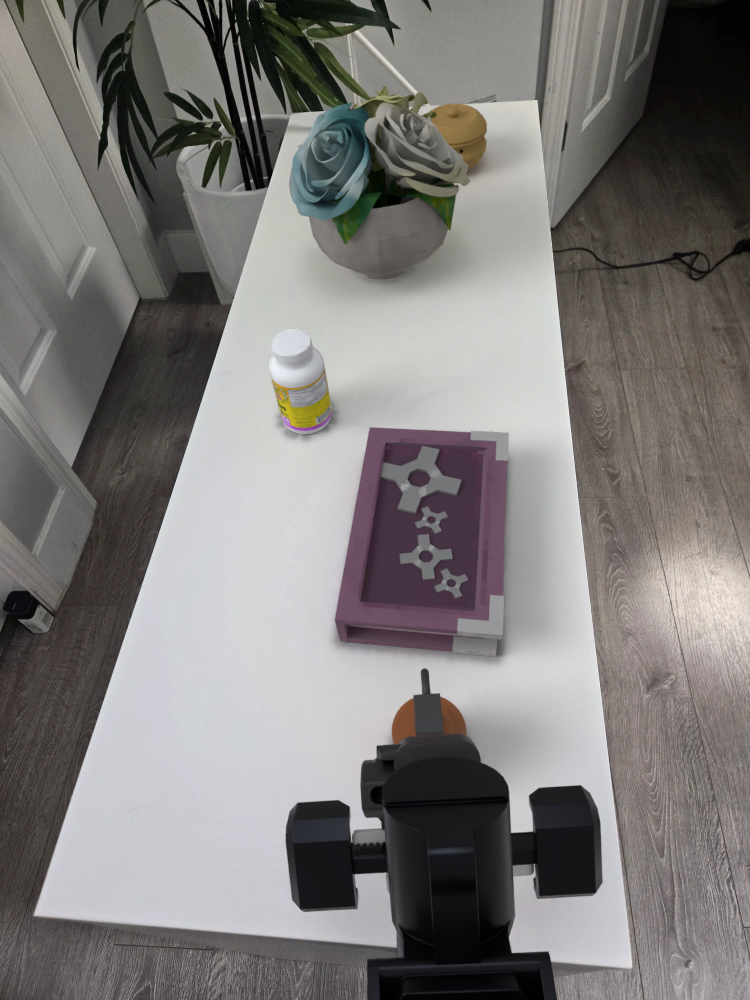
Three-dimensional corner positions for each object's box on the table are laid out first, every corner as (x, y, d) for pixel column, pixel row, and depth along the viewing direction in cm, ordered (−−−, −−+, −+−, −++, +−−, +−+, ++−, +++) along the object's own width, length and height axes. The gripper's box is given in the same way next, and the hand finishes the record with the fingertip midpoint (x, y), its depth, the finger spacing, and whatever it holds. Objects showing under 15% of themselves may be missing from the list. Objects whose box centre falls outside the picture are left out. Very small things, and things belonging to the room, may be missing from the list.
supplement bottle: (281, 402, 94) (262, 326, 83) (331, 395, 94) (317, 318, 84) (283, 440, 90) (262, 364, 80) (335, 433, 90) (321, 357, 80)
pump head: (443, 738, 58) (443, 731, 56) (416, 740, 58) (416, 733, 56) (437, 674, 61) (437, 665, 60) (411, 675, 61) (411, 667, 60)
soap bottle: (468, 785, 64) (471, 761, 58) (397, 790, 64) (392, 766, 58) (460, 715, 67) (462, 686, 61) (393, 719, 68) (388, 690, 62)
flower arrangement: (470, 311, 102) (477, 142, 82) (298, 319, 104) (264, 155, 84) (461, 213, 116) (465, 49, 97) (311, 221, 118) (285, 62, 99)
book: (499, 657, 71) (503, 635, 66) (340, 642, 73) (334, 620, 69) (505, 460, 85) (508, 432, 81) (372, 453, 87) (369, 425, 83)
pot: (429, 189, 121) (428, 130, 113) (411, 155, 128) (409, 98, 120) (494, 175, 122) (498, 116, 114) (473, 143, 129) (475, 85, 121)
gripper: (632, 784, 35) (558, 661, 50) (254, 807, 35) (296, 679, 51) (638, 984, 36) (565, 806, 52) (277, 1002, 37) (311, 821, 52)
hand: (434, 775), depth 52 cm, fingers closed
